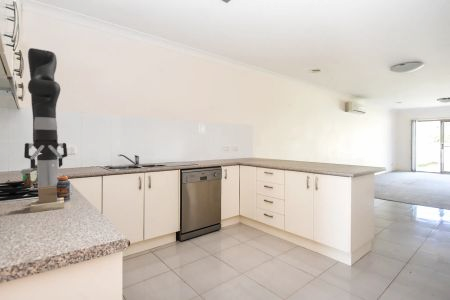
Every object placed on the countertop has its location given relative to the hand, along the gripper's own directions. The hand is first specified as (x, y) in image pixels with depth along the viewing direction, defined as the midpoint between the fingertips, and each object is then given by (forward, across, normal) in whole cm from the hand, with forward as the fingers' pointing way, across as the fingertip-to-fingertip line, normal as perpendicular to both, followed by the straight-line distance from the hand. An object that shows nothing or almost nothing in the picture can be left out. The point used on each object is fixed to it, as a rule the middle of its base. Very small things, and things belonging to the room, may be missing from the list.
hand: (47, 167), depth 100 cm
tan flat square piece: (+17, 0, 0) cm, 17 cm away
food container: (+18, +12, -69) cm, 72 cm away
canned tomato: (+18, +8, -86) cm, 88 cm away
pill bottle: (+17, -5, -10) cm, 21 cm away
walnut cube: (+14, 0, 0) cm, 14 cm away
